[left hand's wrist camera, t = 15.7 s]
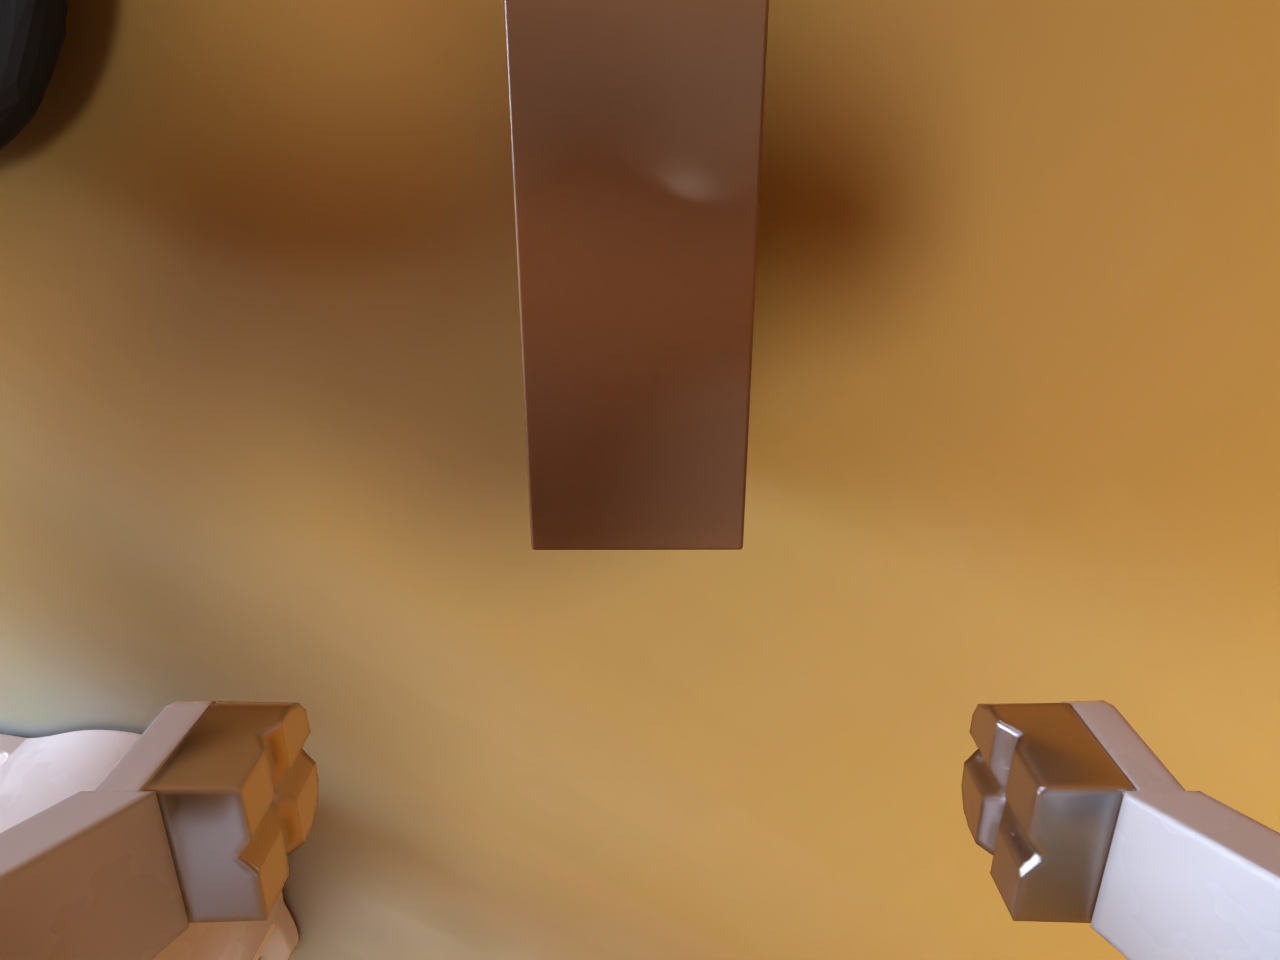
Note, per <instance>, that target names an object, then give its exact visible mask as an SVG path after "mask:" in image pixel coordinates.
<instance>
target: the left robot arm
mask: <svg viewBox="0 0 1280 960" xmlns="http://www.w3.org/2000/svg"><path fill="white" fill-rule="evenodd" d="M309 734H310V727H309V723H308V718H307V713H306V709H305V708H304V707H303V706H301V705H300V704H299V703H280V702H234V701H218V702H214V701H177V702H174V703H171V704H168V705H167V706H166V707H165V708H164V709H163V710H162V711H161V712H160V714H159V715H158V716H157V717H156V718H155V719H154V721H153V722H152V723H151V724H150V725H149V727H148V728H147V729H146V730H145V731H144V732H143V734H138V733H132V732H126V731H118V730H80V731H72V732H67V733H61V734H56V735H51V736H45V737H37V738H25V737H19V736H13V735H6V734H0V960H288V959H289V958H290V956H291V954H292V952H293V950H294V949H295V947H296V945H297V943H298V940H299V935H298V931H297V928H296V925H295V923H294V920H293V918H292V916H291V914H290V912H289V910H288V908H287V907H286V905H285V903H284V900H283V890H282V888H283V886H284V884H285V882H286V880H287V878H288V876H289V874H290V872H289V866H288V861H287V855H288V854H290V853H291V852H293V851H294V850H295V849H297V848H298V847H299V846H301V845H302V844H304V842H305V840H306V838H307V835H308V833H309V831H310V829H311V827H312V824H313V820H314V816H315V811H316V806H317V801H318V775H317V769H316V762H315V761H314V760H313V759H312V758H311V757H310V756H309V755H308V754H307V753H306V752H305V751H304V750H303V749H302V747H303V745H304V743H305V741H306V739H307V738H308V736H309ZM970 734H971V736H972V738H973V739H974V741H975V743H976V745H977V747H978V749H977V750H976V751H975V752H974V753H973V754H972V755H971V756H970V757H969V758H968V759H967V760H966V761H965V762H964V770H963V777H962V785H961V786H962V798H963V809H964V813H965V816H966V820H967V824H968V827H969V829H970V831H971V833H972V836H973V838H974V840H975V842H976V844H978V845H979V846H981V847H982V848H983V849H985V850H986V851H987V852H989V853H990V854H992V855H993V861H992V866H991V872H990V874H991V876H992V878H993V880H994V882H995V884H996V886H997V888H998V890H999V892H1000V894H1001V896H1002V898H1003V900H1004V902H1005V904H1006V906H1007V909H1008V911H1009V913H1010V915H1011V917H1012V919H1013V921H1042V922H1078V923H1091V925H1090V927H1091V928H1092V929H1094V930H1095V931H1096V932H1097V933H1098V934H1099V935H1101V936H1102V937H1103V938H1104V939H1105V940H1106V941H1107V942H1109V943H1110V944H1111V945H1112V946H1113V947H1114V948H1116V949H1117V950H1118V951H1119V952H1120V953H1121V954H1123V955H1124V956H1125V957H1126V958H1127V959H1128V960H1280V833H1278V832H1276V831H1274V830H1273V829H1271V828H1269V827H1267V826H1265V825H1263V824H1261V823H1259V822H1257V821H1255V820H1254V819H1252V818H1250V817H1248V816H1246V815H1244V814H1242V813H1240V812H1238V811H1236V810H1234V809H1233V808H1231V807H1229V806H1227V805H1225V804H1223V803H1221V802H1219V801H1217V800H1215V799H1214V798H1212V797H1210V796H1208V795H1206V794H1204V793H1202V792H1200V791H1186V790H1185V789H1184V788H1183V787H1182V786H1181V784H1180V783H1179V782H1178V781H1177V780H1176V779H1175V777H1174V776H1173V775H1172V774H1171V773H1170V771H1169V770H1168V769H1167V768H1166V767H1165V766H1164V764H1163V763H1162V762H1161V761H1160V760H1159V758H1158V757H1157V756H1156V755H1155V754H1154V753H1153V751H1152V750H1151V749H1150V748H1149V747H1148V746H1147V744H1146V743H1145V742H1144V741H1143V740H1142V738H1141V737H1140V736H1139V735H1138V734H1137V733H1136V731H1135V730H1134V729H1133V728H1132V727H1131V725H1130V724H1129V723H1128V722H1127V721H1126V720H1125V718H1124V717H1123V716H1122V715H1121V714H1120V712H1119V711H1118V710H1117V709H1116V708H1115V707H1114V706H1113V705H1111V704H1109V703H1107V702H1105V701H1071V702H1061V703H1010V704H978V705H977V707H976V709H975V711H974V713H973V716H972V721H971V727H970Z"/></svg>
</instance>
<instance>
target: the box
mask: <svg viewBox="0 0 1280 960" xmlns="http://www.w3.org/2000/svg"><path fill="white" fill-rule="evenodd" d="M768 10H769V0H504V12H505V32H506V52H507V72H508V92H509V111H510V131H511V151H512V171H513V190H514V210H515V230H516V250H517V269H518V289H519V309H520V329H521V349H522V368H523V388H524V408H525V428H526V447H527V467H528V487H529V507H530V526H531V546H532V549H534V550H724V549H742V547H743V532H744V512H745V491H746V470H747V449H748V428H749V407H750V386H751V365H752V344H753V323H754V303H755V282H756V261H757V240H758V219H759V198H760V177H761V156H762V135H763V114H764V94H765V73H766V52H767V31H768Z"/></svg>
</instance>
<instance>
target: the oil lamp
mask: <svg viewBox="0 0 1280 960" xmlns="http://www.w3.org/2000/svg"><path fill="white" fill-rule="evenodd" d="M67 6H68V5H67V0H0V151H1V150H2V149H3V148H4V147H5V146H6V145H7V144H8V143H9V142H10V141H11V140H12V139H13V138H14V137H15V136H16V135H17V134H18V133H19V132H20V131H21V130H22V129H23V128H24V127H25V125H26V124H27V123H29V122H30V120H31V119H32V117H33V116H34V114H35V112H36V111H37V109H38V107H39V105H40V103H41V101H42V99H43V96H44V93H45V91H46V88H47V86H48V84H49V81H50V79H51V76H52V73H53V71H54V68H55V65H56V62H57V59H58V56H59V53H60V50H61V47H62V44H63V41H64V38H65V35H66V14H67Z"/></svg>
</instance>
